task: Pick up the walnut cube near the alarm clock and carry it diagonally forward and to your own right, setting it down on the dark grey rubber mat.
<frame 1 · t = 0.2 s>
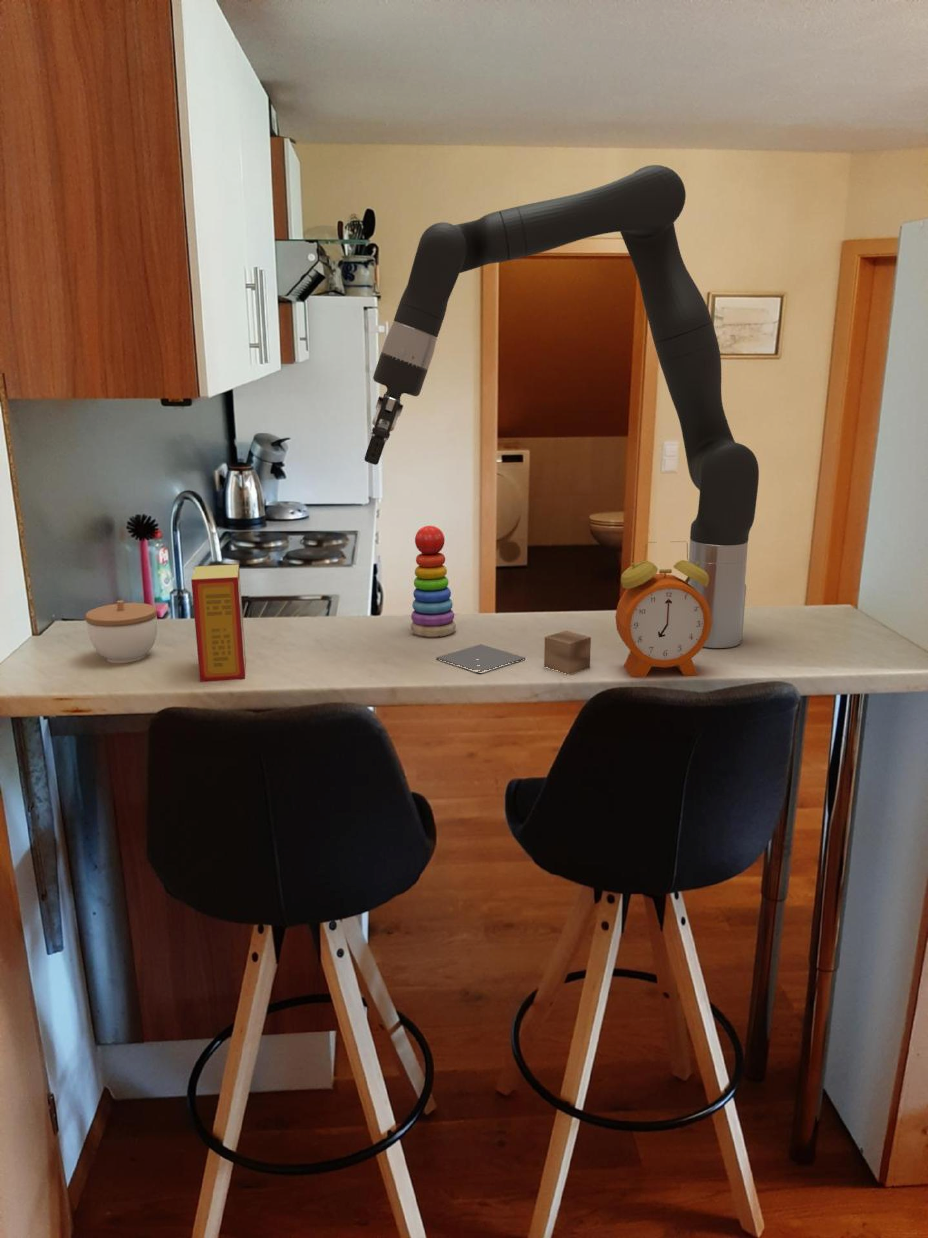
hand: (371, 460, 146), 31 cm above the table, tool tilted 20°, fingers open, 8 cm apart
lidded jar: (126, 658, 151), on the table
cube: (566, 668, 145), on the table
alarm clock: (660, 672, 143), on the table
baking soda box: (223, 671, 144), on the table
mat: (480, 659, 149), on the table
stacking toy: (433, 633, 164), on the table
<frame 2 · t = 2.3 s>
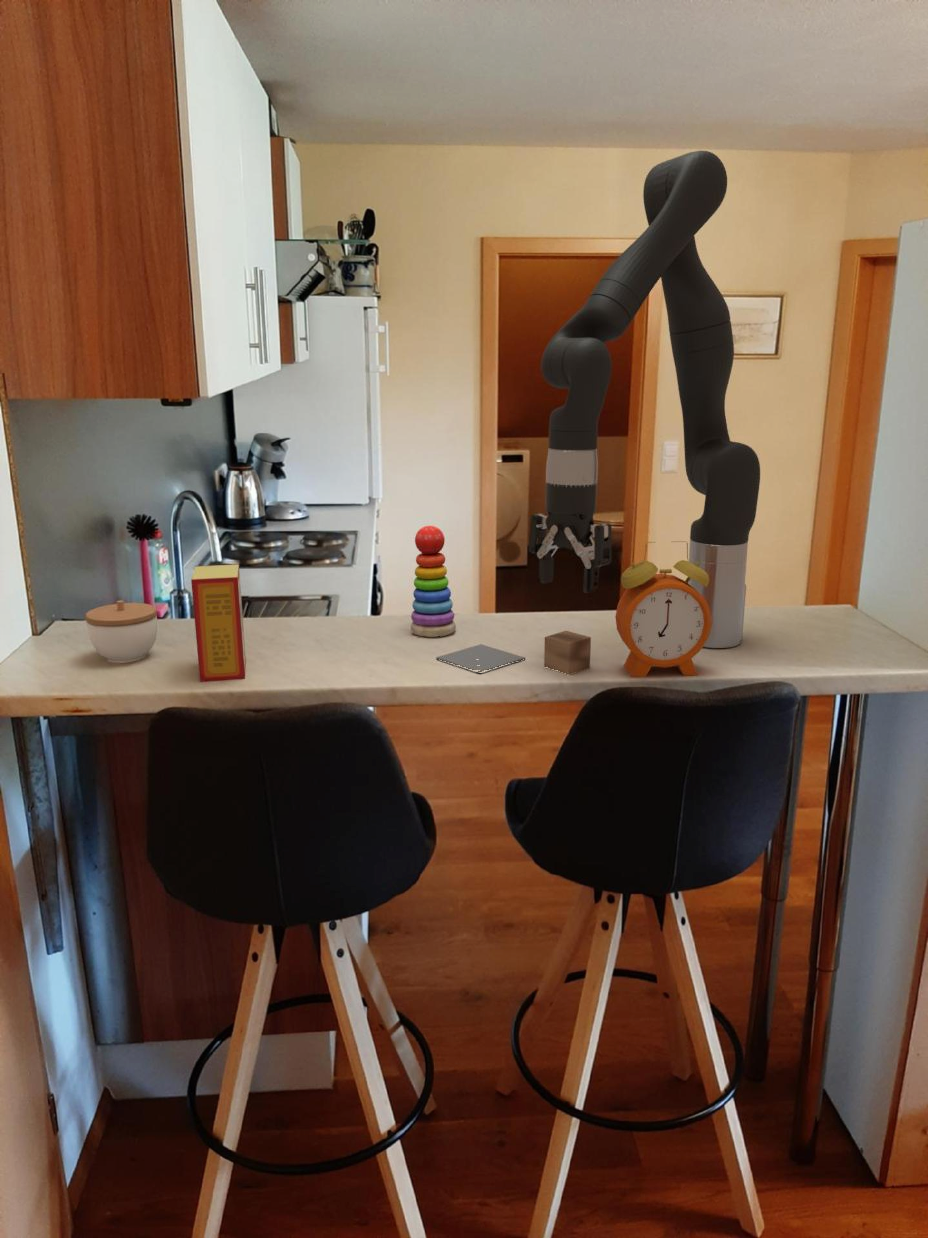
hand: (567, 587, 141), 13 cm above the table, tool pointing down, fingers open, 8 cm apart
nothing on the table moved.
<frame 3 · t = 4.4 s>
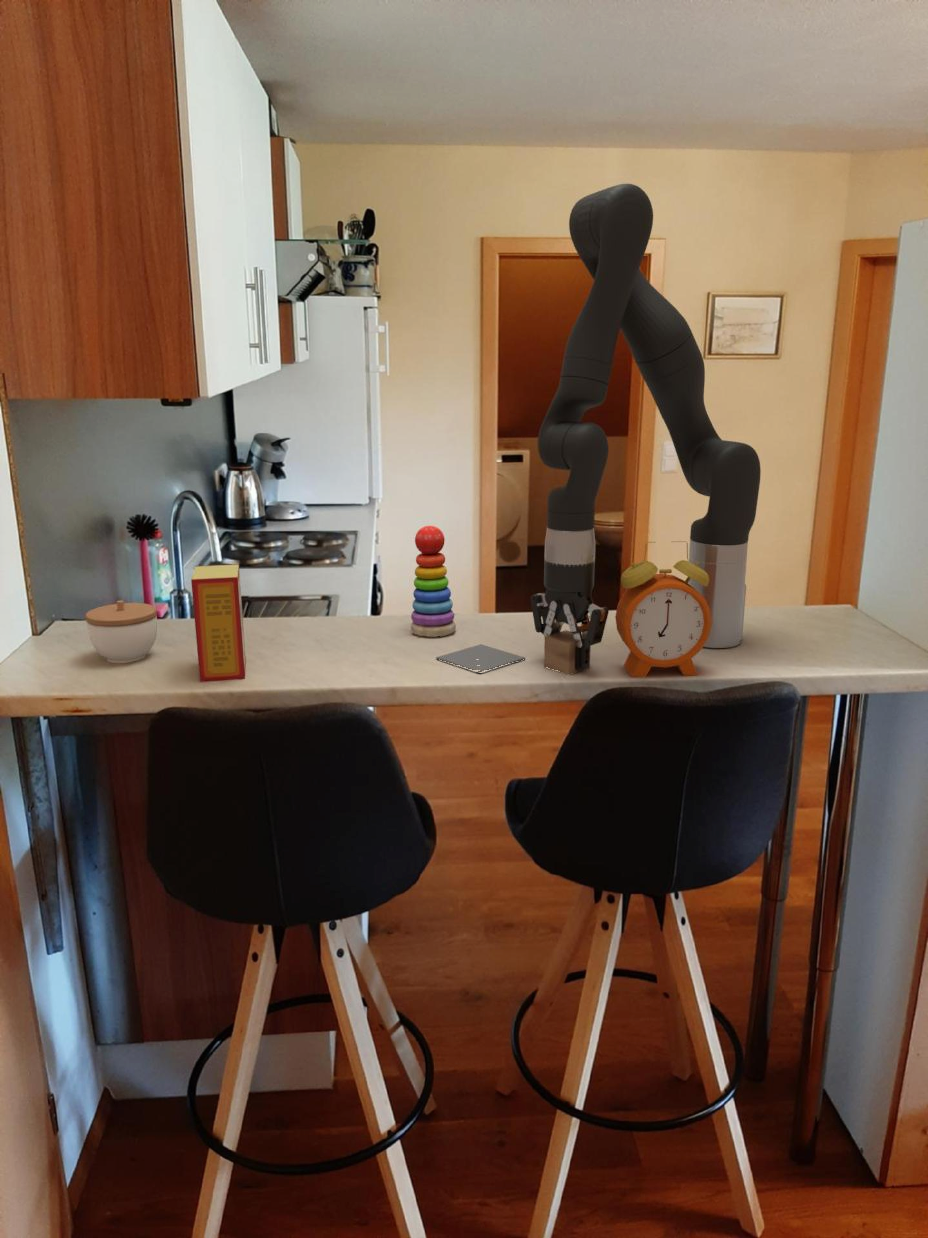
hand: (566, 664, 145), 0 cm above the table, tool pointing down, fingers closed on cube, 5 cm apart
cube: (566, 667, 145), on the table, touching gripper
everything else where it was.
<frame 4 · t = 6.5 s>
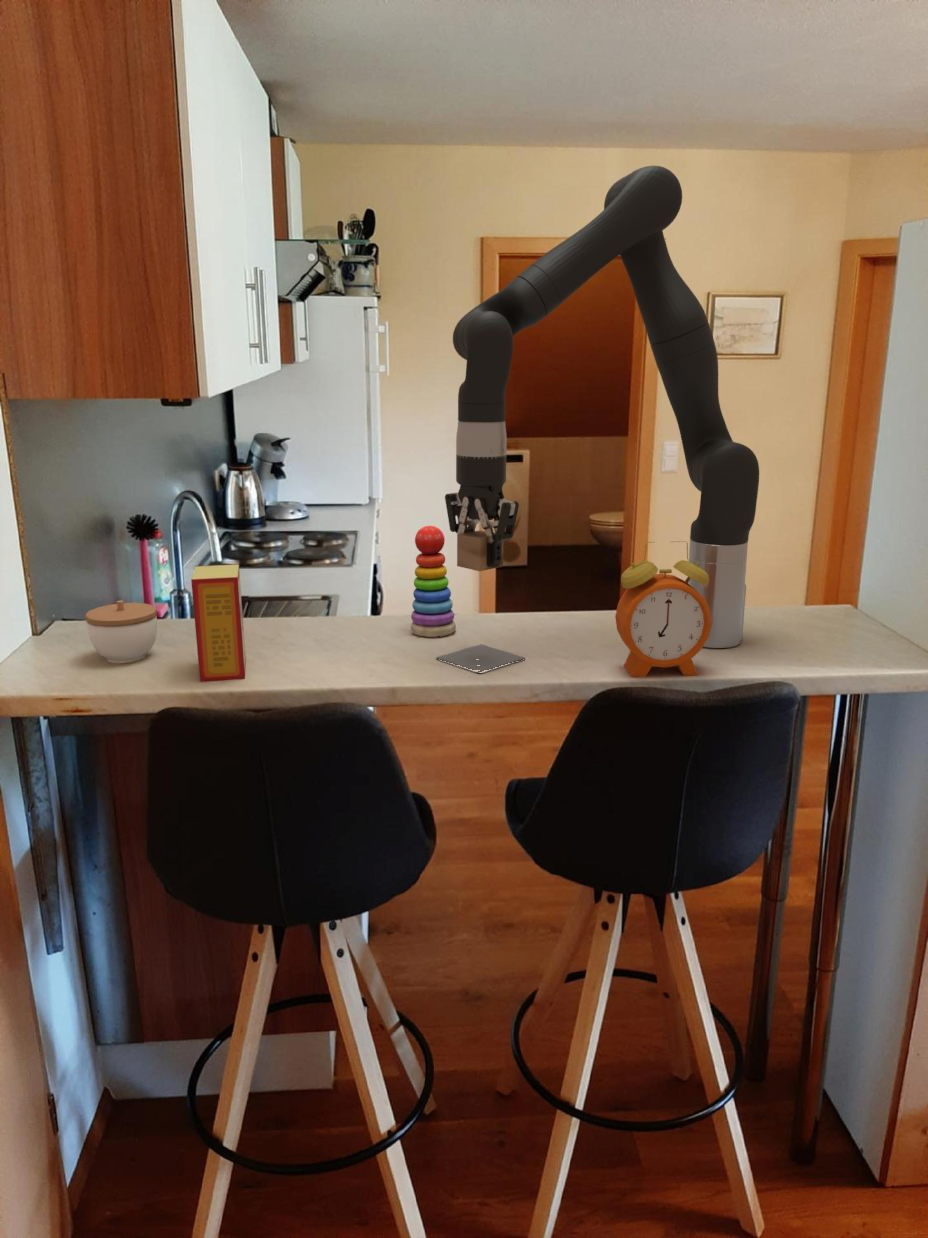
hand: (480, 563, 144), 16 cm above the table, tool pointing down, fingers closed on cube, 5 cm apart
cube: (480, 566, 144), point 15 cm above the table, touching gripper
everything else where it was.
when the fingers open (2 cm above the table, at t = 8.9 s): cube drops 1 cm, resting on mat.
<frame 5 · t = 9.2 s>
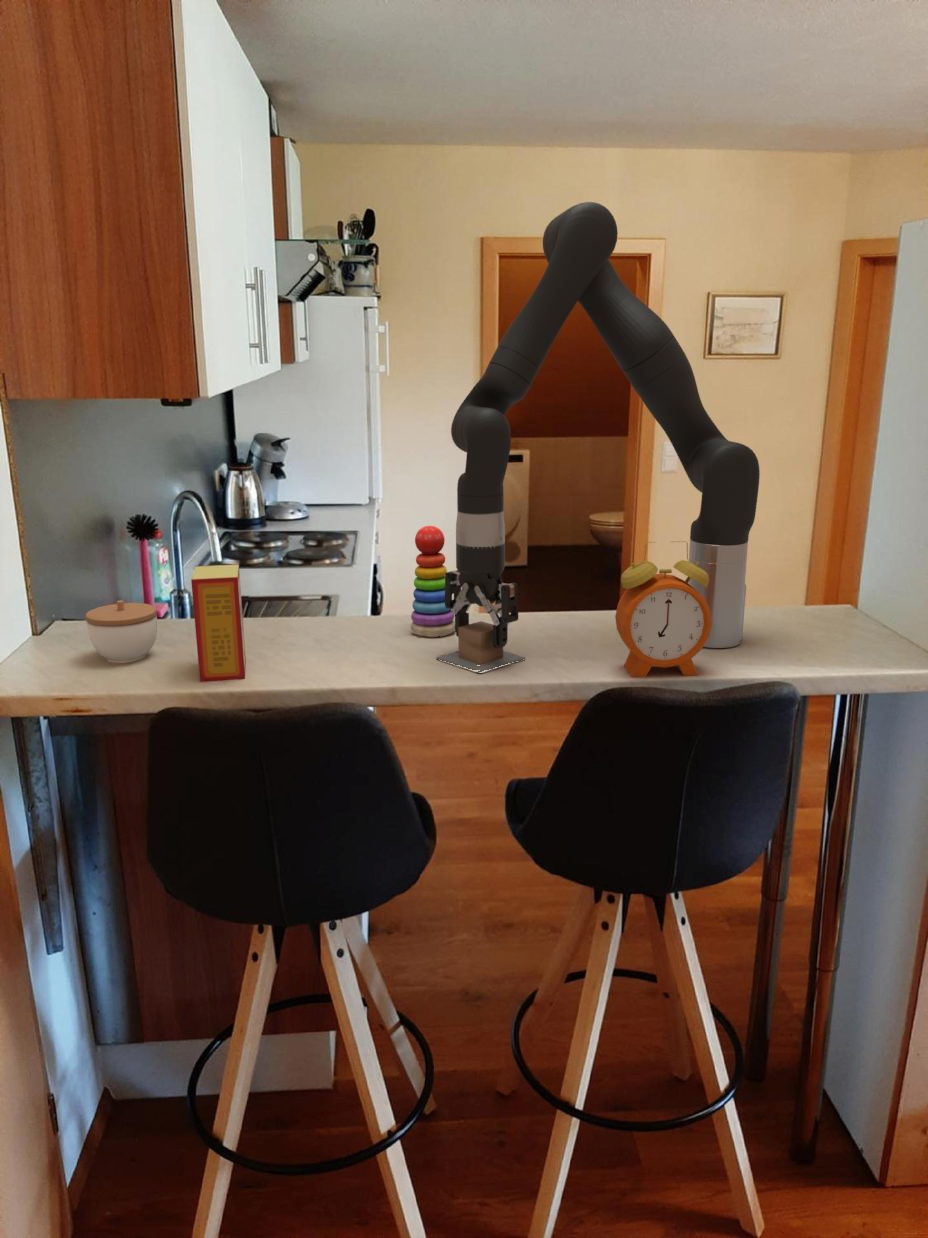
hand: (480, 641, 148), 3 cm above the table, tool pointing down, fingers open, 8 cm apart
cube: (480, 657, 148), resting on mat
everything else where it was.
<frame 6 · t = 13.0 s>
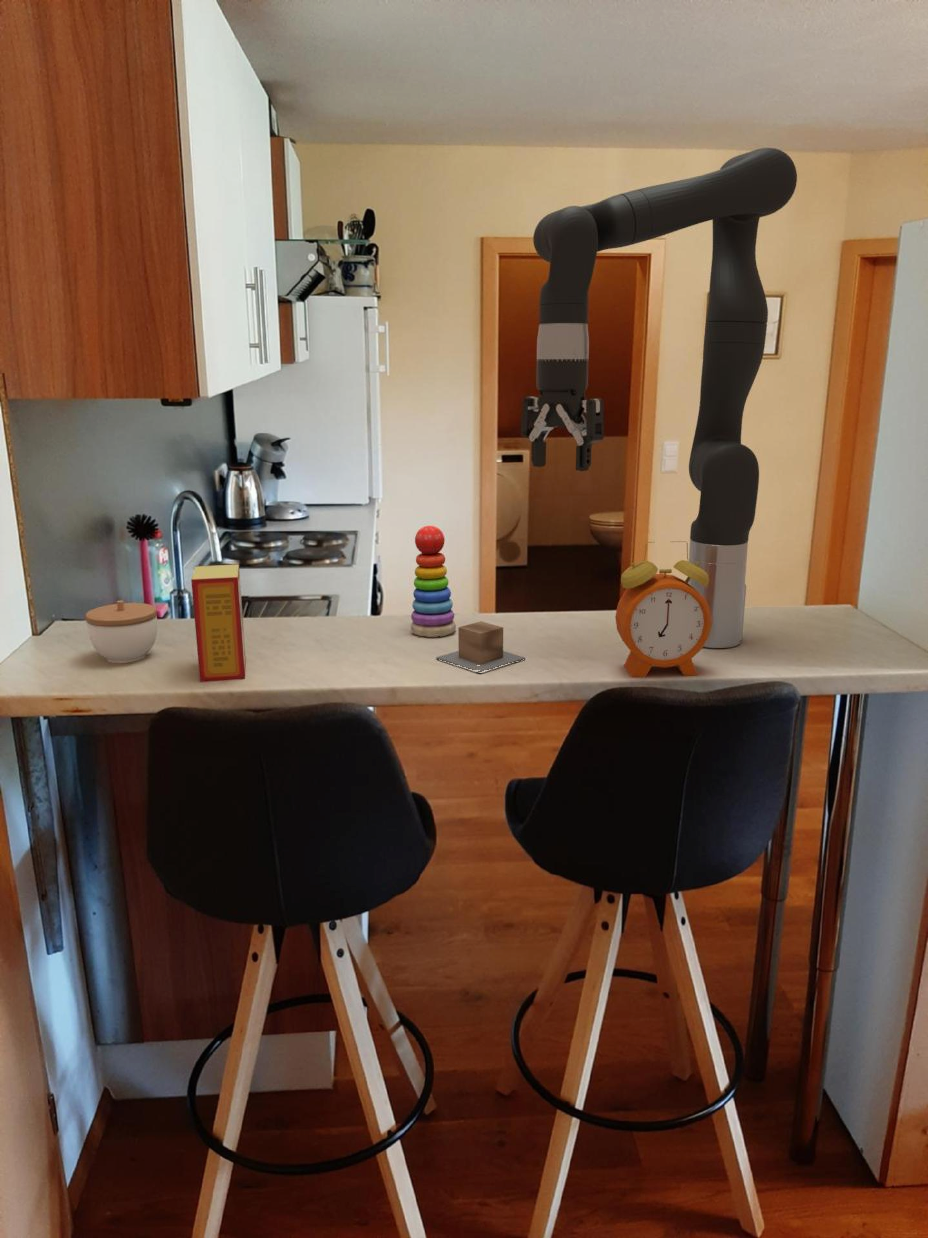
hand: (560, 468, 141), 30 cm above the table, tool pointing down, fingers open, 8 cm apart
nothing on the table moved.
at the end: cube inside the target area on the mat (0.1 cm from its centre), point 0.4 cm above the mat's base; cube tilted 0°; the gripper is holding nothing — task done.
